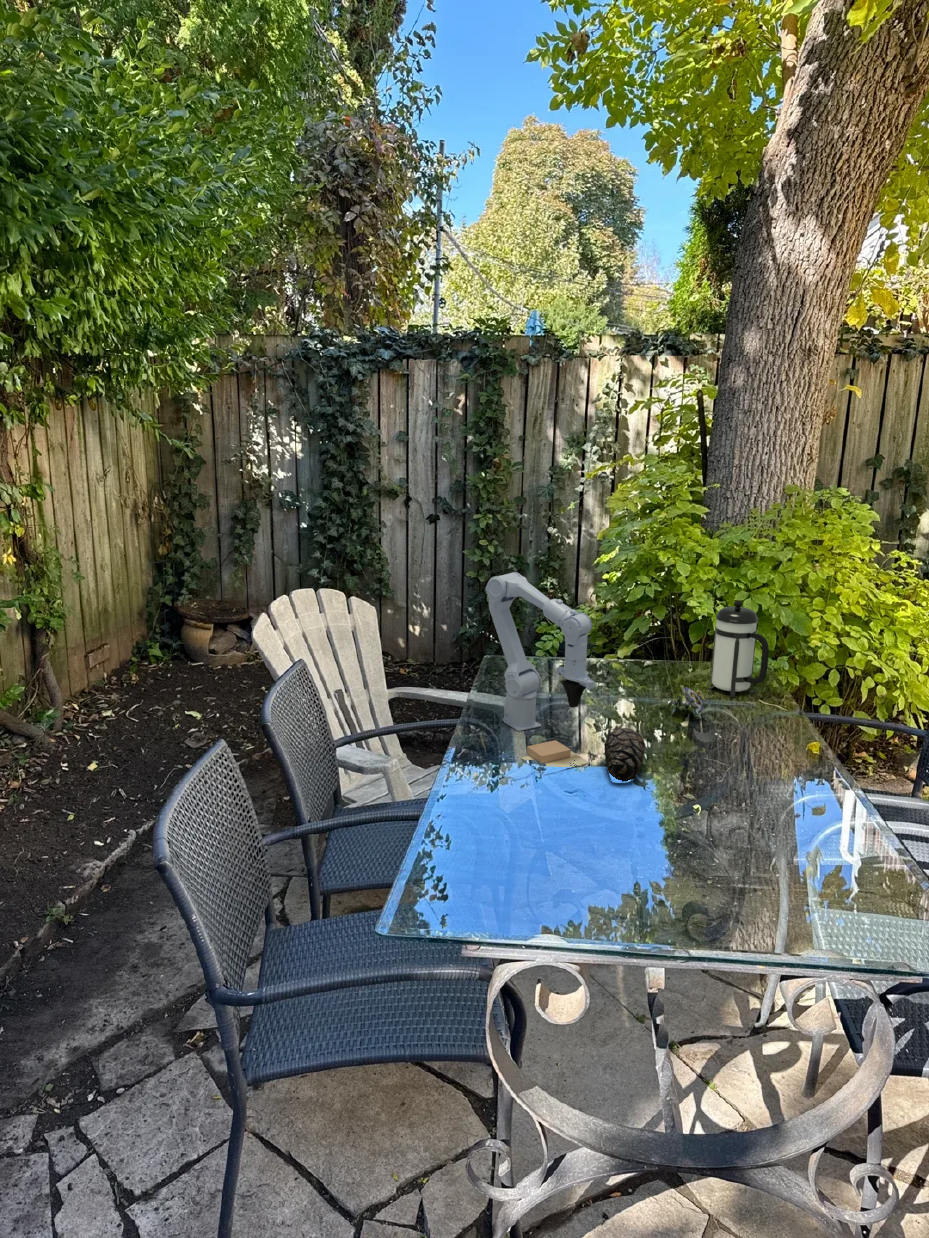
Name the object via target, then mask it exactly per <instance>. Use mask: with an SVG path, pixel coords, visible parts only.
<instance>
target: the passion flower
mask: <svg viewBox="0 0 929 1238" xmlns="http://www.w3.org/2000/svg"><path fill="white" fill-rule="evenodd" d="M679 688H680V690H681V693H682V694H679V695H678V696H677V697H676V698H674V700H672V699H671V698H670V693H668V692H666V697H667V699H669V700H670V702H669V703H668V704H666V706H665V709H668V708H669V707H670V706H672V705H673V709H672V711H671V714H670V716H671V715H673V714H674V713H675V712H677V711H678V710H679V708H681V707H682V706H684V710H685V709H686V710H689V707H690V706H691V708H692V714H693V717H694V718H695V719H696V720H699V719H698V718H701V719H702V715H701V713H702V712H703V711H704V703H703V701H707V699H706V697H705V695H704V693H703V691H702V690H701V689H697V690H696V691H694V690H693V689H692V688H690V687H689V688H688V687H687V686H685V687H684V685H681V684H680V685H679ZM701 699H702V700H703V701H702V700H701Z"/></svg>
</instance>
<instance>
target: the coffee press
mask: <svg viewBox="0 0 929 1238" xmlns="http://www.w3.org/2000/svg"><path fill="white" fill-rule="evenodd" d="M733 605H734V606H725V607H723V608H721V609H719V610H718V612H717V613H716V614H715V619H716V623H715V624H716V625H715V629H714V640H713V650H712V662H711V672H710V673H711V674H710V675H711V676H710V681H709V682H708V683H707V684H706V689H707V690H708V688H709V686H710V684H712V686H710V687H711V689H710V690H712V689H713V688H715V687H716V688H717V689H720V690H721V691H722V690H723V691H727V692H729V697H730V698H732V699H733V698H735V697H736V692H743V691H749V692H750V693H751V694H753V693H755V687H754V686H753V685H757V684H761V683H763V682H764V681H765V680H766V677H767V672H768V665H769V653H770V647H769V643H768V640H767V638H766V637H764V636H763V635H761V634H760V633H757V630H758V629H757V623H758V622H759V617H758V616H757V613H756V612H755V610H752V609H750V608H747V607H743V603H742V601H740V600H735V602H734V604H733ZM756 641H758V642H759V643H760V645H761V660H760V669H759V670H760V671H759V675H758V677H757V678H755V677H753V672H754V671H753V670H754V661H755V650H756ZM707 687H708V688H707ZM750 687H752V689H753V690H750V689H749V688H750Z"/></svg>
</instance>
